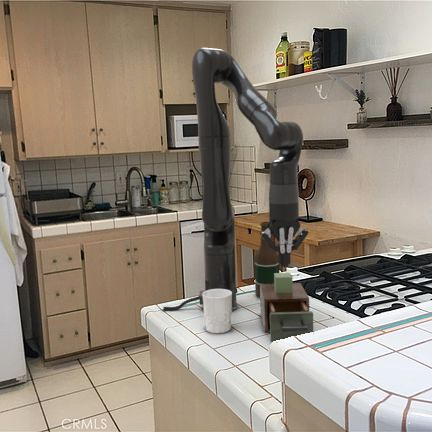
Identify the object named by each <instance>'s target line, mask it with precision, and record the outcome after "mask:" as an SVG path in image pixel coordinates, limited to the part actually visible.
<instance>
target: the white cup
mask: <svg viewBox="0 0 432 432" xmlns="http://www.w3.org/2000/svg"><path fill="white" fill-rule="evenodd" d="M203 291H204V292H203V293H202V295H203V305H202V306H203V316H204V321H205V322H204V323H205V329H206V331H207V332H208V333H212V334H224V333H227V332H229V331H231V328H232V322H231V321H232V313H233V312H232V311H233V310H232V292H231V291H229V290H226V289H210V290H207V291H205V290H203Z"/></svg>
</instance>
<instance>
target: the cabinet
mask: <svg viewBox="0 0 432 432" xmlns="http://www.w3.org/2000/svg"><path fill="white" fill-rule="evenodd" d="M292 285H293V293H276V292H275V289H274V284H260V298H259V301H260V302H259V303H260V304H259V305H260V307H259V308H260V309H259V310H260V318H261V322H262V326H263V331H264V333H265V334H266V333H267V334H270V326H269V323H268V302H292V301H304V303H305V305H306V307H307V309H308V312H310V297H309V295H308V294H307V292H306V290H305V288H304V287H303V284H302V283H301V282H292Z"/></svg>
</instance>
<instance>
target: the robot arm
mask: <svg viewBox="0 0 432 432" xmlns="http://www.w3.org/2000/svg"><path fill="white" fill-rule="evenodd" d="M191 76H192V83H193V89H194V90H193V91H194V95H195V103H196V116H197V139H198V141H197V142H198V154H199V155H198V156H199V164H200V171H201V177H202V178H201V179H202V209H201V220H202V223H203V256H204V259H203V260H204V290H199V294H198V295H199V296H195V297H191V298H189V299H186V300H184V301H182V302H181V303H180V304H179V305H177V306H163V307H162V309H163V311H176V310H177V311H178V310H180V309H182V308H183V307H184V306H185V305H187V304H189V303H191V302H196V301H199V305H200V306H203V295H202V293H203V292H204V291H207V290H210V289H226V290H229V291H231V292H232V311H235V310H236V309H237V308H238V303H237V301H238V300H237V294H238V288H237V274H236V270H237V269H236V230H235V229H236V227H235V225H236V224H235V223H236V222H235V209H234V206H233V204H232V201H231V194H230V171H231V161H232V160H231V159H232V139H231V138H232V137H231V129H230V126H229V123H228V121H227V118H226V117H225V115H224V113H223V112H222V110H221V107H220V105H219V103H218V100H217V97H216V95H217V94H216V87H215V86H216V85H215V84H222V85H224V86H225V87H226V88H228V90H230V91H231V92H232V93H233V95H234V97H235V98H234V99H235V103H236V105H237V108H238V109H239V111H240V112H241V114H242V115H243V116H244V117H245V118H246V120H248V121H249V122H250V124H251V125H253V126H254V128H255V132H256V133H257V135H258V137H259V138H260V140H261V142H262V144H263V145H265V147H267V148H268V149H270V150H272V151H279V152H278V157H277V158H276V159H275V160H272V161H271V162H270V164H269V190H268V214H269V215H268V217H269V221H268V222H269V224H268V228H267V229H266V230H265V231H264V232H261V231H260V232H259V235H260V238H261V237H262V238H263V239H264V240H265V242H266V243H267V244H268V245H269V246H270V248H271V249H272V250H274V251H277V254H278V262H279V266H281V268H288V267H289V265H291V252H293V251H297V250H298V249H299V247H300V246H301V245H302V243H303V242H304V240H305V239H306V238H307V236H308V235H309V231H308V230H307V229H304V228H303V227H302V226H301V222H300V220H299V219H300V203H299V202H300V200H299V199H300V196H299V195H300V194H299V191H300V190H299V186H298V185H299V184H298V182H299V181H298V178H299V177H298V175H299V173H298V166H299V162H300V159H301V154H302V149H303V145H304V133H303V130H302V128H301V126H300V124H298V122H297V123H296V122H295V121H279V120H278V119H277V118H278V112H277V109H276V108H275V107H274V106H273V104H272V103H271V102H270V101H269V100H268V99H267V98H266V97H264V95H263V94H261V92H259V91H258V89H257V88H256V87H255V86H254V85H253V83H252V82H251V81H250V80H249V78H248V77H247V76H246V74H245V72H244V71H243V69H242V68H241V67H240V65H239V64H238V62H237V61H236V59H235V58H234V56H232V55H231V53H230V52H228V51H226V50H225V49H220V48H219V49H218V48H208V47H201V48H198V49H197V50H196V51H195V52H194V53H193V56H192V60H191ZM270 232H271V233H272V237H274V239H275V241H276V243H275V242H274V241H273V239H272V240H271V239H270V237H271V235H270Z"/></svg>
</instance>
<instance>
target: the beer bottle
mask: <svg viewBox="0 0 432 432" xmlns="http://www.w3.org/2000/svg"><path fill="white" fill-rule="evenodd" d="M268 224H269V221H263V222H260V233H261V232H264V231H265V230H266V229H267V228H268ZM270 235H271V237H270V239H271V240H272V241H273V234H272V233H271V232H270ZM259 244H260V245H259V247H258V249H257V251H256V253H255V256H254V288H255V295H256V296H257V297H258V298H259V299H260V284H274V273H280V264H279V262H278V252H277V251H274V250H272V249H271V248H270V246H269V245H268V244H267V243H266V242H265V240H264V239H263V238H262V237H261V236H260V242H259Z"/></svg>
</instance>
